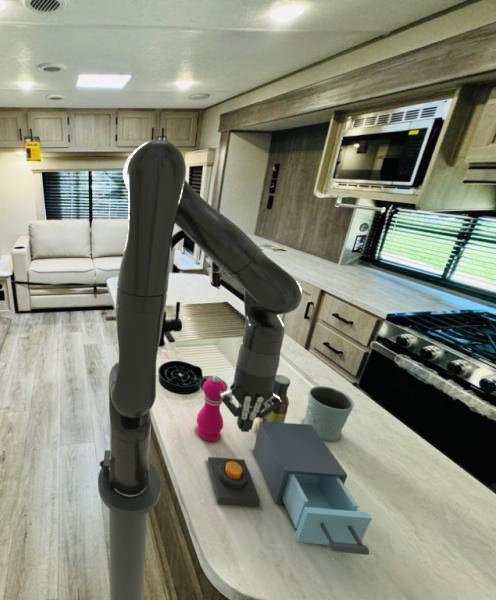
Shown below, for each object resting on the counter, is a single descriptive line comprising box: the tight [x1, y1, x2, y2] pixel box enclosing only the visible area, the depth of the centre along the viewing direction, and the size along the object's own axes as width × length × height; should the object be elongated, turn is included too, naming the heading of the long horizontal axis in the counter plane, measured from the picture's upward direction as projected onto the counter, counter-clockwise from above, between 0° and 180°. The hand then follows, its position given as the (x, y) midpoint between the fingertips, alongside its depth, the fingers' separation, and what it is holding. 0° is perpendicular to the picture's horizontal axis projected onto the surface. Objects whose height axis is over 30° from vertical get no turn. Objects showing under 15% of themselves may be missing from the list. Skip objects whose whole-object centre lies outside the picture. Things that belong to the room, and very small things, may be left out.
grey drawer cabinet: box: [252, 422, 348, 505], centre depth 75 cm, size 15×13×11 cm
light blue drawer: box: [282, 473, 373, 556], centre depth 65 cm, size 18×11×9 cm, turn 174°
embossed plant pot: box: [303, 385, 355, 442], centre depth 89 cm, size 10×10×12 cm
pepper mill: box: [196, 375, 227, 442], centre depth 88 cm, size 7×7×20 cm
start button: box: [225, 461, 242, 480], centre depth 75 cm, size 4×4×2 cm
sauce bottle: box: [256, 374, 291, 433], centre depth 87 cm, size 6×6×20 cm
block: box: [206, 456, 261, 508], centre depth 76 cm, size 9×11×4 cm
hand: (243, 429), depth 71 cm, fingers closed
